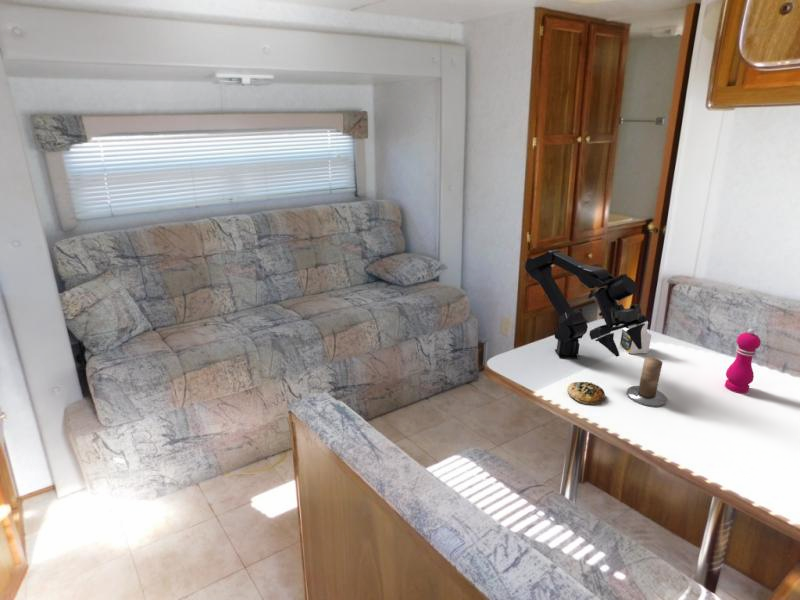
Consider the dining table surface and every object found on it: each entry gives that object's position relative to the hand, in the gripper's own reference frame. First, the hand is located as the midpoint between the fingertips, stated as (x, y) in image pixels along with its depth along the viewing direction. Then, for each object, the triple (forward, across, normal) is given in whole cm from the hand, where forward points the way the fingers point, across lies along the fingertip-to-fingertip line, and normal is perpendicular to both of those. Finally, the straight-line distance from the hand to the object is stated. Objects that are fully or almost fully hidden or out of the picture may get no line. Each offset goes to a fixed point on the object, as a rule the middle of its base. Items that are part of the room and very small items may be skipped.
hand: (629, 352), depth 163 cm
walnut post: (+13, -2, -2) cm, 13 cm away
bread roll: (+8, -18, +4) cm, 21 cm away
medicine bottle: (-1, +22, +21) cm, 30 cm away
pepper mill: (+21, +29, -5) cm, 36 cm away
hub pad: (+14, -2, -1) cm, 14 cm away
